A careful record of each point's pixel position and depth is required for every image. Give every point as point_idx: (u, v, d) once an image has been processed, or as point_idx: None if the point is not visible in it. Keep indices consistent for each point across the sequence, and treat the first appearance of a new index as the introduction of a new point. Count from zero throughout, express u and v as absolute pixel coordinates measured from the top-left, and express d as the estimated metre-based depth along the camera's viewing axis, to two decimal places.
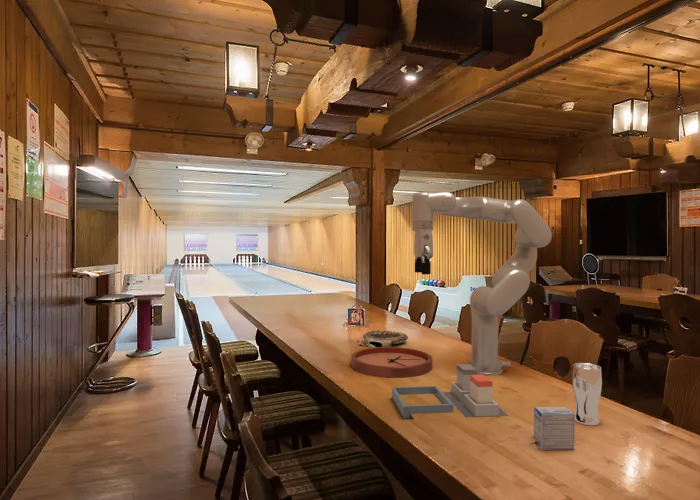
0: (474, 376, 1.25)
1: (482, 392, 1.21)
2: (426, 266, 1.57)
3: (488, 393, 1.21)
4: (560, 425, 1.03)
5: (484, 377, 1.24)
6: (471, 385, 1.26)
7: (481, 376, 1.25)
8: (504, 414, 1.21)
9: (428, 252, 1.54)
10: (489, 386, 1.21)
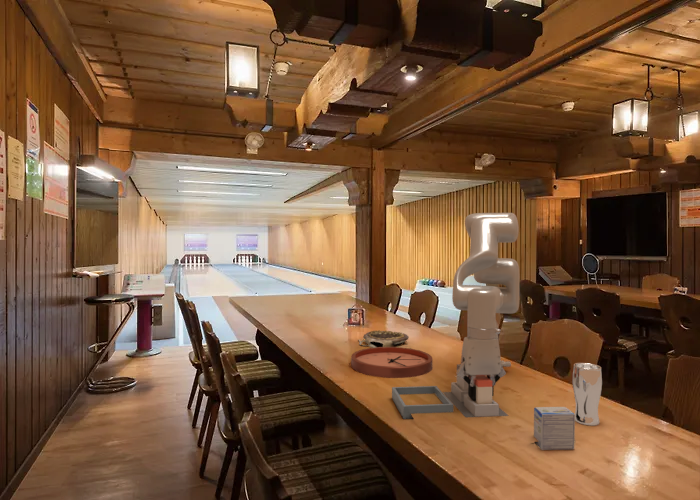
0: None
1: (482, 392, 1.21)
2: None
3: (488, 393, 1.21)
4: (560, 425, 1.03)
5: (484, 377, 1.24)
6: None
7: (481, 376, 1.25)
8: (504, 414, 1.21)
9: None
10: (489, 386, 1.21)
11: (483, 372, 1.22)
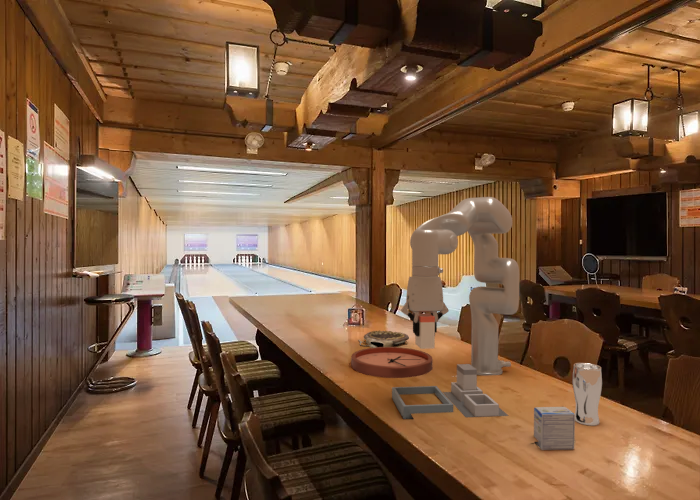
0: (419, 314, 1.30)
1: (425, 327, 1.26)
2: None
3: (430, 328, 1.26)
4: (560, 425, 1.03)
5: (428, 315, 1.29)
6: None
7: (425, 314, 1.30)
8: (504, 414, 1.21)
9: None
10: (431, 321, 1.26)
11: (426, 308, 1.27)
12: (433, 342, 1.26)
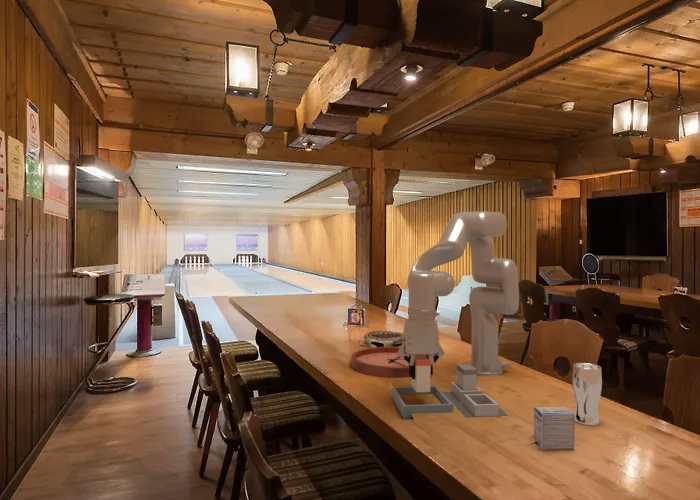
0: (415, 356, 1.31)
1: (420, 371, 1.26)
2: None
3: (426, 372, 1.27)
4: (560, 425, 1.03)
5: (424, 357, 1.30)
6: None
7: (422, 356, 1.31)
8: (504, 414, 1.21)
9: None
10: (427, 365, 1.27)
11: (422, 352, 1.27)
12: (429, 386, 1.27)
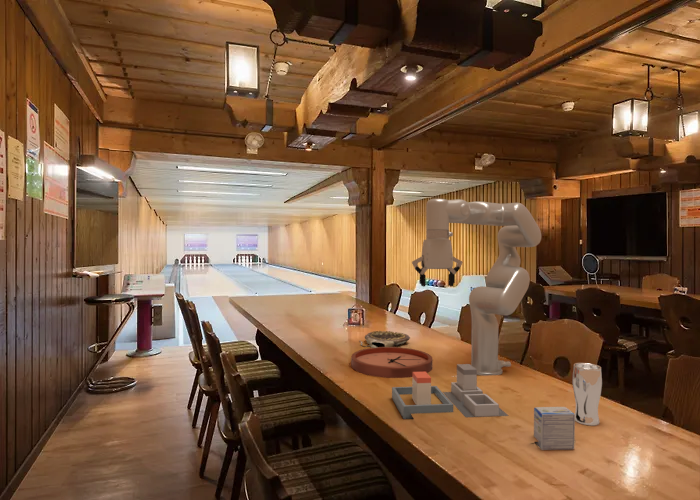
0: (416, 373, 1.31)
1: (421, 388, 1.27)
2: None
3: (426, 389, 1.27)
4: (560, 425, 1.03)
5: (425, 374, 1.30)
6: (413, 381, 1.31)
7: (422, 373, 1.31)
8: (504, 414, 1.21)
9: None
10: (428, 382, 1.27)
11: (438, 266, 1.49)
12: (429, 403, 1.27)
